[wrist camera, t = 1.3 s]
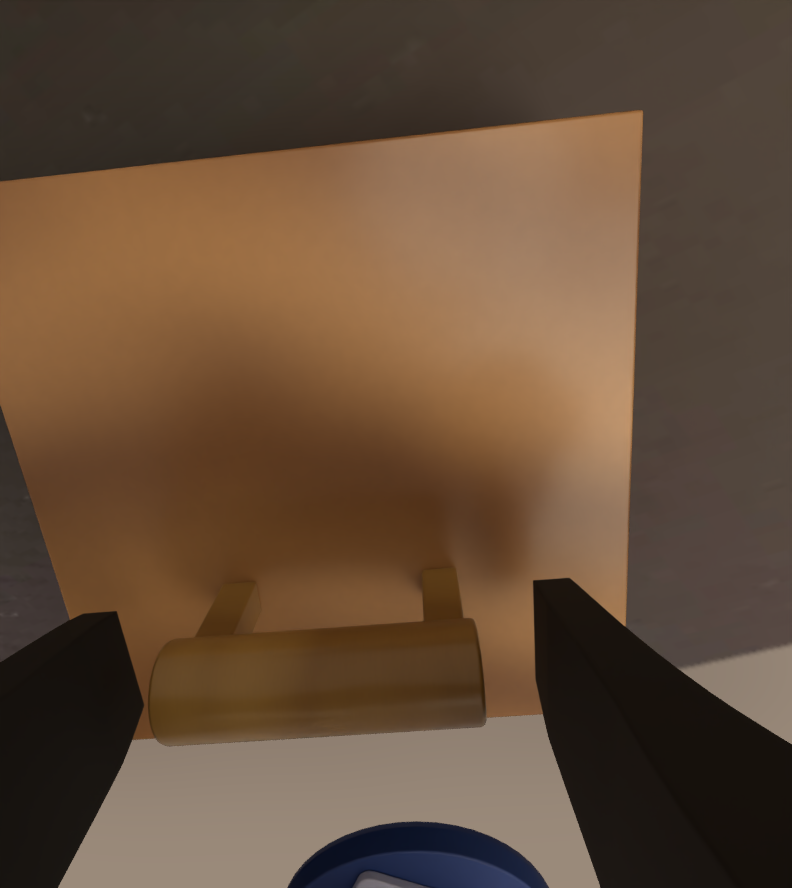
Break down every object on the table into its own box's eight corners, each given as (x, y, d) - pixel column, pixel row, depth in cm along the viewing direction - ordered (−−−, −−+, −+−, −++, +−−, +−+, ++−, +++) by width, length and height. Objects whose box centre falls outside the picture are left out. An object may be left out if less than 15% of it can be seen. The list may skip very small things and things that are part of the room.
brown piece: (614, 690, 13) (696, 869, 9) (120, 722, 14) (13, 903, 10) (630, 117, 10) (776, 34, 6) (-45, 191, 10) (-317, 161, 6)
